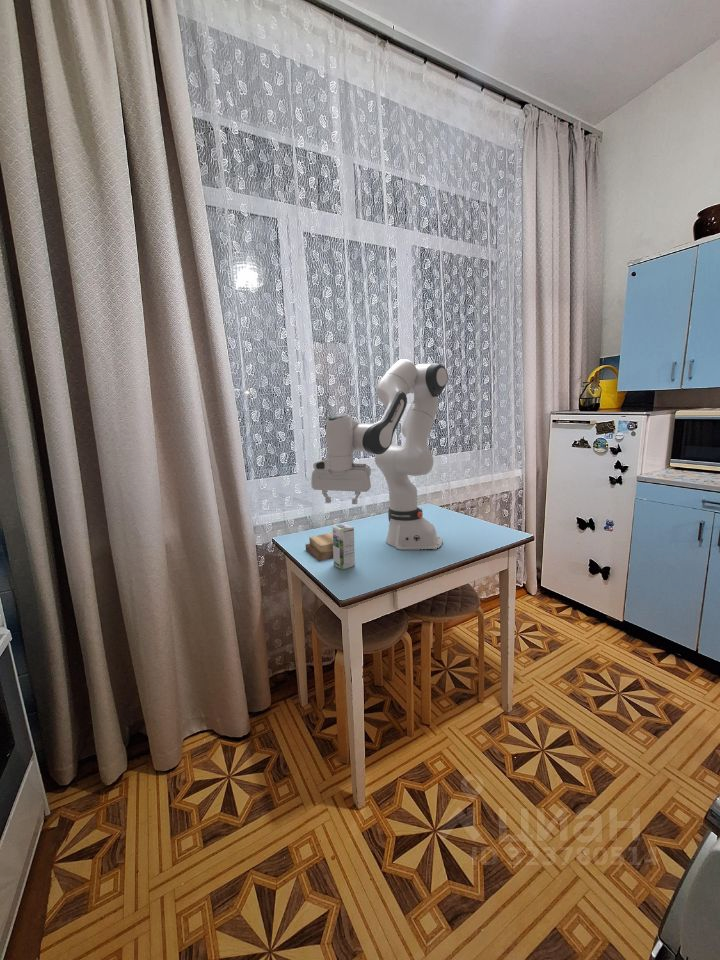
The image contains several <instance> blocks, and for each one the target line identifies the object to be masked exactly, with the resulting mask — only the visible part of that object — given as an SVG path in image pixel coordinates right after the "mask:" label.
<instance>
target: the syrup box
mask: <svg viewBox="0 0 720 960" xmlns="http://www.w3.org/2000/svg"><path fill="white" fill-rule="evenodd" d="M332 532H333V558H332V559H333V565H334V566H335V567H336V568H338V569H340V570H341V571H342V570H345V569H349V568H351V567H355V566H356V563H355V560H356V559H355V552H356V551H355V527H354V526H351V525H349V524H347V523H340V524H339V523H338V524H336V525H333V526H332Z"/></svg>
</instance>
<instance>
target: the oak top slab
mask: <svg viewBox="0 0 720 960" xmlns="http://www.w3.org/2000/svg"><path fill="white" fill-rule="evenodd" d="M309 544H310V545H311V546H312V547H313V548H315V549H316V550H317V551H318V552H319V553H321V554H322V553H326V552H330V551H333V531H332V532H327V533H322V534H318V535H314V536H310V537H309Z"/></svg>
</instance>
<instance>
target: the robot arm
mask: <svg viewBox="0 0 720 960" xmlns="http://www.w3.org/2000/svg"><path fill="white" fill-rule="evenodd" d="M448 381H449V377H448V371H447V368H446V367H445V365H443V364H441V363H435V362H432V363H420V364H415V363H414V362H412V361H411V360H410V359H407V358H404V359H403V358H402V359H399V360H397V361H396V362H395V363H394V364H393V365H391V366H390V368H388V370H387V371H386V372H385V373H384V375H383V376H382V377H381V378H380V380H379V382H378V384H377V386H376V390H375V391H376V396H377V398H378V400H379V401H380V402H381V404H383V406H384V407H386V409H385V411H384V413H383V415H382V417H381V418H380V420H378V421H377V422H373V423H366V422H365V423H364V422H360V421H357V420H355V419H354V418H352V416H351V415H350V413H338V414H333V415H331V416H329V417H328V418H327V422H326V428H325V429H326V430H325V442H326V446H327V451H326V458H323V459H321V460H317V461H315V462H314V463H313V465H312V467H313V470H312V473H311V479H310V481H311V488H312V489H313V490H314V491H321V495H323V497H324V499H325V504H330V503H331V502H332V497H331V496H329V494H328V493H329V491H330V492H331V491H332V492H335V491H336V492H339V491H340V492H354V495H355V497H354V498H352V499H351V504H352V505H357V504H358V498H360V495H361V493H367V492H369V491H370V490H371V489H372V488H371V487H372V486H371V485H372V482H371V478H370V476H371V473H372V472H371V469H372V468H371V467H370V466H369V465H367V464H366V463H354V452H353V451H357V452H363V453H371V454H375V455H374V462H375V465H376V467H377V468H378V469H379V470H380V471H381V473H382V475H383V477H384V478H385V481H386V484H387V488H388V497H389V499H388V500H389V503H388V504H389V507H388V510H387V512H388V513H387V516H388V531H387V535H386V540H385V541H386V543H387V545H389V546H392V547H394V548H395V549H397V550H405V551H406V550H413V551H414V550H416V551H417V550H420V549H422V550H423V549H425V550H426V549H433V550H438V549H440V548H441V547H442V545H443V538H442V537H441V536H440V535H438V534H437V530H436V527H435V525H434V524H433V523H431V522H430V521H429V520H428V519H426V518H424V517H423V515H424V514H423V508H420V507H418V489H417V487H416V485H415V484H414V483H413V482H412V481H411V480H410V478H409V476H412V477H417V476H426V475H428V474H429V473H430V472H431V470H432V469H433V466H434V456H433V454H432V452H431V451H430V449H429V447H428V438H429V436H430V433H431V429H432V427H433V425H434V424H433V423H434V422H435V419H436V415H437V412H438V407H439V396H440V395H442V393H443V391H444V389H445V387H446V386H447V383H448ZM408 394H413V395H414V396H413V400H412V402H411V405H410V406H409V408H408V410H407V413H406V416H405V418H404V420H403V422H402V425H401V429H400V430H401V434H402V435H403V436H404V438H405V439H406V440H405V442H404V443H405V444H404V445H397V444H396V445H395V444H392V441H393V438H394V434H395V432H396V429H397V427H398V425H399V422H400V421H401V419H402V417H403V414H404V412H405V410H406V407H407V404H408V397H407V395H408ZM440 546H441V547H440ZM439 547H440V548H439ZM437 548H438V549H437ZM423 551H424V550H423Z"/></svg>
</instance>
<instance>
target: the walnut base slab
mask: <svg viewBox="0 0 720 960" xmlns="http://www.w3.org/2000/svg"><path fill="white" fill-rule="evenodd" d="M306 550H307V553H309V554H310V555H311V556H313V557H314V558H315V559H316V560H317V561H318V562H323V561H326V560H330V559H333V551H330V552H326V553H322V554H321V553H319V552H318V551H317V550H316V549H315V548H313V547H312V546H311V545H310V543H306V544H305V551H306Z"/></svg>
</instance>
